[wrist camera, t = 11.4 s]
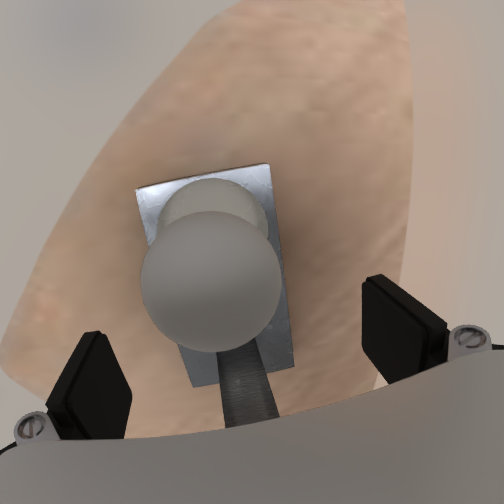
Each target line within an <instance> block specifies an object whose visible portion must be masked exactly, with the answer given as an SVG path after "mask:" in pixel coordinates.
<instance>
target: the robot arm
mask: <svg viewBox="0 0 504 504" xmlns="http://www.w3.org/2000/svg"><path fill="white" fill-rule="evenodd" d="M362 348H363V351H364V353H365V354H366V355H367V356H368V358H369V359H370V360H371V362H372V363H373V364H374V366H375V367H376V368H377V369H378V371H379V372H380V373H381V375H382V376H383V377H384V379H385V380H386V381H387V383H388V384H389V385H387V386H384V387H382V388H379V389H376V390H373V391H370V392H367V393H364V394H361V395H358V396H355V397H352V398H349V399H346V400H343V401H339V402H336V403H333V404H330V405H326V406H323V407H319V408H316V409H312V410H308V411H304V412H301V413H297V414H293V415H289V416H284V417H280V418H276V419H271V420H267V421H262V422H257V423H252V424H247V425H242V426H236V427H231V428H225V429H219V430H212V431H205V432H198V433H190V434H181V435H172V436H161V437H149V438H133V439H124V435H125V430H126V425H127V421H128V416H129V412H130V407H131V403H132V392H131V389H130V387H129V385H128V383H127V381H126V379H125V377H124V374H123V372H122V370H121V368H120V366H119V363H118V361H117V359H116V357H115V354H114V352H113V350H112V347H111V345H110V343H109V340H108V338H107V336H106V335H105V334H102V333H101V332H100V331H93V332H85V333H84V334H83V336H82V338H81V339H80V341H79V343H78V345H77V346H76V348H75V350H74V351H73V353H72V355H71V357H70V359H69V360H68V362H67V364H66V366H65V368H64V369H63V371H62V373H61V375H60V377H59V379H58V380H57V382H56V384H55V386H54V388H53V390H52V392H51V394H50V396H49V398H48V400H47V402H46V404H45V405H46V406H47V408H48V411H47V413H44V412H40V411H35V412H31V413H28V414H26V415H25V416H23V417H22V418H21V419H20V420H19V421H18V422H17V424H16V425H15V428H14V437H15V440H16V441H15V442H13V443H12V444H10V445H8V446H7V447H5V448H3V449H2V450H0V504H504V345H495V344H491V338H490V335H489V333H488V332H487V331H486V330H484V329H483V328H481V327H478V326H475V325H461V326H458V327H456V328H454V329H453V330H452V331H449V330H448V329H447V323H446V322H445V321H444V320H443V319H441V318H440V317H439V316H437V315H436V314H435V313H434V312H432V311H431V310H430V309H428V308H427V307H426V306H424V305H423V304H422V303H420V302H419V301H418V300H416V299H415V298H414V297H412V296H411V295H410V294H408V293H407V292H406V291H404V290H403V289H402V288H400V287H399V286H398V285H396V284H395V283H394V282H392V281H391V280H390V279H388V278H387V277H385V276H384V275H383V274H379V275H375V276H371V277H367V278H366V281H365V282H363V283H362Z"/></svg>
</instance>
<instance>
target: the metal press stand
mask: <svg viewBox="0 0 504 504" xmlns="http://www.w3.org/2000/svg"><path fill="white" fill-rule="evenodd" d="M135 192H136V196H137V201H138V205H139V210H140V214H141V218H142V222H143V226H144V231H145V235H146V239H147V242H148V246H149V247H150V245H151V243H152V242H153V240H154V239H155V238H156V236H157V235H158V234H159V233H160V232H161V231H162V230H163V229H164V228H165V227H166V226H168V225H169V224H170V223H172V222H174V221H175V220H177V219H179V218H181V217H183V216H186V215H189V214H192V213H196V212H204V211H217V212H226V213H229V214H233V215H236V216H239V217H241V218H243V219H244V220H246V221H248V222H250V223H251V224H253V225H254V226H255V227H256V228H257V229H259V230H260V231H261V232H262V234H263V235H264V236H265V237H266V239H267V240H268V241H269V242H270V244H271V245H272V247H273V249H274V251H275V253H276V255H277V257H278V261H279V266H280V270H281V283H282V287H281V293H280V299H279V303H278V306H277V308H276V311H275V313H274V315H273V317H272V319H271V320H270V322H269V323H268V325H267V326H266V327H265V328H264V329H263V330H262V331H261V332H260V333H259V334H258V335H257V336H256V337H254V338H253V339H251V340H250V341H249V342H247V343H245V344H243V345H241V346H239V347H237V348H234V349H231V350H227V351H221V352H201V351H196V350H192V349H189V348H187V347H184V346H182V345H179V344H178V347H179V350H180V353H181V356H182V358H183V361H184V364H185V367H186V370H187V372H188V375H189V378H190V381H191V383H192V386H193V388H194V387H201V386H206V385H212V384H218V383H220V390H221V398H222V406H223V413H224V421H225V428H231V427H236V426H242V425H247V424H252V423H257V422H262V421H267V420H271V419H276V418H280V416H279V413H278V410H277V406H276V403H275V400H274V397H273V394H272V391H271V388H270V384H269V381H268V378H267V375H266V373H271V372H275V371H279V370H283V369H287V368H291V367H295V366H294V357H293V348H292V338H291V330H290V321H289V312H288V304H287V295H286V287H285V279H284V271H283V263H282V255H281V247H280V240H279V232H278V225H277V217H276V210H275V203H274V196H273V189H272V182H271V175H270V168H269V164H267V163H261V164H254V165H248V166H242V167H236V168H231V169H225V170H220V171H214V172H209V173H204V174H199V175H194V176H189V177H184V178H179V179H174V180H170V181H165V182H161V183H156V184H152V185H147V186H143V187H139V188H138V189H136V190H135Z"/></svg>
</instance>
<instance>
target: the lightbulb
mask: <svg viewBox="0 0 504 504" xmlns="http://www.w3.org/2000/svg"><path fill="white" fill-rule="evenodd" d="M281 287H282V283H281V270H280V266H279V261H278V257H277V255H276V253H275V251H274V249H273V247H272V245H271V244H270V242H269V241H268V240H267V239H266V237H265V236H264V235H263V234H262V232H261V231H260V230H259V229H257V228H256V227H255V226H254V225H253V224H251V223H250V222H248V221H246V220H244V219H243V218H241V217H239V216H236V215H233V214H229V213H226V212H217V211H204V212H196V213H192V214H189V215H186V216H183V217H181V218H179V219H177V220H175V221H174V222H172V223H170V224H169V225H168V226H166V227H165V228H164V229H163V230H162V231H161V232H160V233H159V234H158V235H157V236H156V238H155V239H154V240H153V242H152V243H151V245H150V247H149V249H148V251H147V253H146V255H145V258H144V260H143V264H142V269H141V292H142V297H143V302H144V305H145V307H146V309H147V311H148V314H149V316H150V317H151V319H152V321H153V322H154V323H155V325H156V326H157V328H158V329H159V330H160V331H161V332H162V333H163V334H164V335H166V336H167V337H168V338H169V339H171V340H173V341H174V342H176V343H177V344H179V345H182V346H184V347H187V348H189V349H192V350H196V351H201V352H221V351H227V350H231V349H234V348H237V347H239V346H241V345H243V344H245V343H247V342H249V341H250V340H251V339H253V338H254V337H256V336H257V335H258V334H259V333H260V332H261V331H262V330H263V329H264V328H265V327H266V326H267V325H268V323H269V322H270V320H271V319H272V317H273V315H274V313H275V311H276V308H277V306H278V303H279V299H280V293H281Z"/></svg>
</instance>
